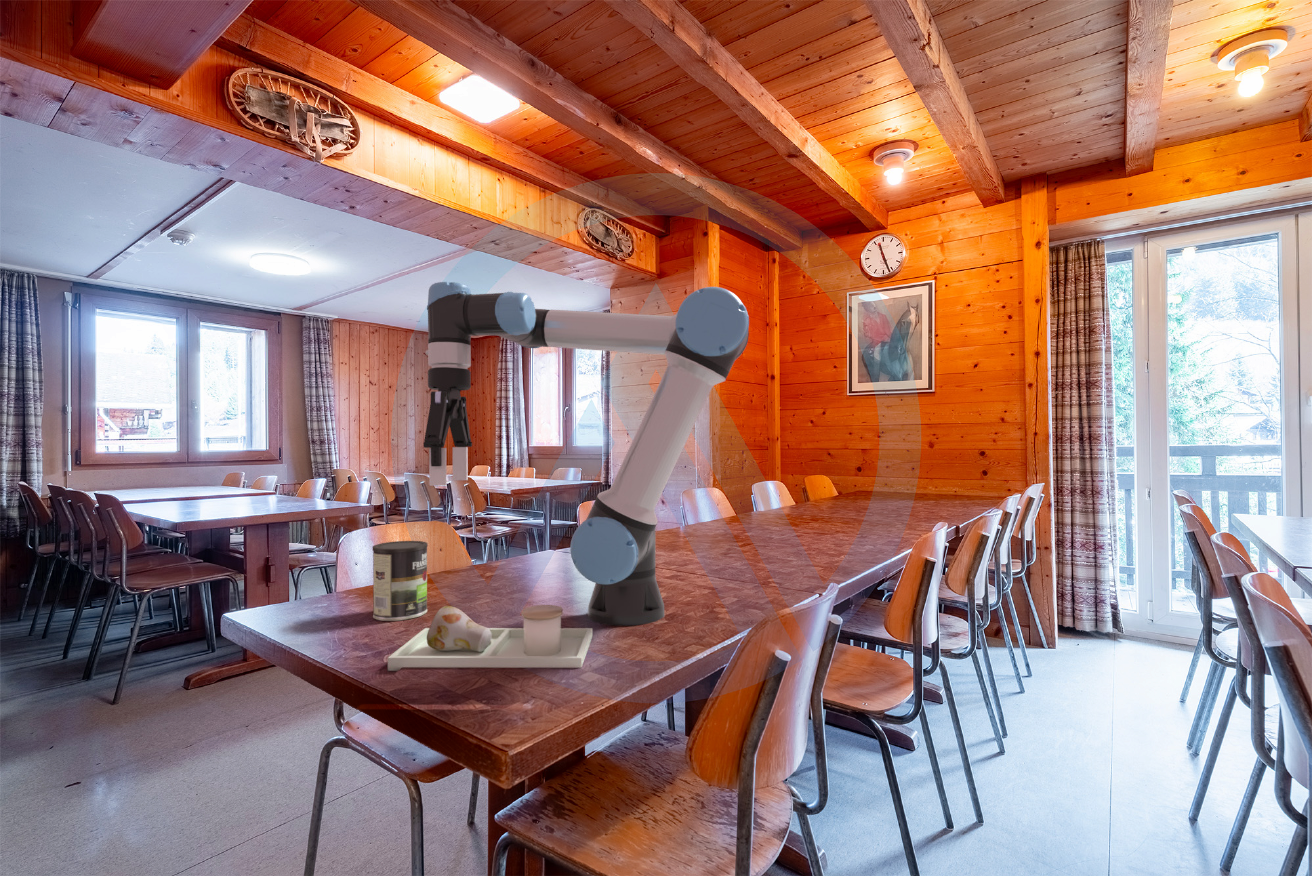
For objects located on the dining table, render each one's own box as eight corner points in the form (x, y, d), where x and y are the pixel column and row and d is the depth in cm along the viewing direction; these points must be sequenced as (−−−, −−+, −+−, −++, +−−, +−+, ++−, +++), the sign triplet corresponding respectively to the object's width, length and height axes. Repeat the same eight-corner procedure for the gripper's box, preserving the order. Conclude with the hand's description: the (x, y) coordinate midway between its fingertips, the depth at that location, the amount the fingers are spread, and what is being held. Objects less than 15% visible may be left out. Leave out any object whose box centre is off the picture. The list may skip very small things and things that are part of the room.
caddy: (592, 639, 106) (592, 628, 106) (581, 671, 92) (581, 658, 92) (425, 639, 107) (425, 627, 107) (387, 670, 92) (387, 657, 92)
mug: (487, 660, 95) (453, 608, 94) (440, 680, 98) (407, 630, 97) (507, 634, 102) (476, 585, 101) (463, 653, 105) (432, 606, 104)
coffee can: (435, 607, 128) (435, 540, 128) (415, 621, 117) (415, 549, 117) (386, 606, 128) (386, 540, 128) (362, 621, 117) (362, 549, 117)
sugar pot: (565, 643, 102) (565, 604, 102) (559, 657, 96) (559, 616, 96) (526, 643, 102) (526, 604, 102) (517, 657, 96) (517, 616, 96)
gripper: (449, 375, 124) (449, 478, 124) (403, 359, 99) (403, 488, 99) (486, 375, 125) (486, 478, 124) (449, 359, 100) (449, 487, 100)
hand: (449, 482), depth 112 cm, fingers open, 13 cm apart
